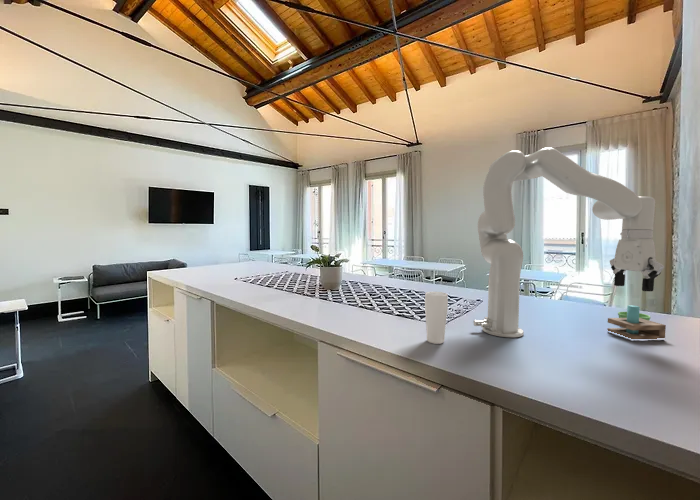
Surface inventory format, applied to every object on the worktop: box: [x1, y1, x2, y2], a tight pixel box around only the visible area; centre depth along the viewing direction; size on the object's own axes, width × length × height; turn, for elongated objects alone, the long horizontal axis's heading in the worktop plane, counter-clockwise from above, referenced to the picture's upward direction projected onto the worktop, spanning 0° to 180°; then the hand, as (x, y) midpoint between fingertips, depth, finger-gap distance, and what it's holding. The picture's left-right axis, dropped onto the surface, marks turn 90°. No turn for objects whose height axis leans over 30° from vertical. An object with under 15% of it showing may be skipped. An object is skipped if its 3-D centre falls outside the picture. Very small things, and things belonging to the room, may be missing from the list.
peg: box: [626, 304, 641, 334], centre depth 105 cm, size 3×3×10 cm
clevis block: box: [606, 317, 667, 339], centre depth 105 cm, size 11×9×5 cm
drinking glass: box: [424, 291, 449, 345], centre depth 99 cm, size 7×7×15 cm
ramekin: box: [617, 311, 651, 321], centre depth 118 cm, size 9×9×4 cm
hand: (632, 288), depth 105 cm, fingers open, 9 cm apart
